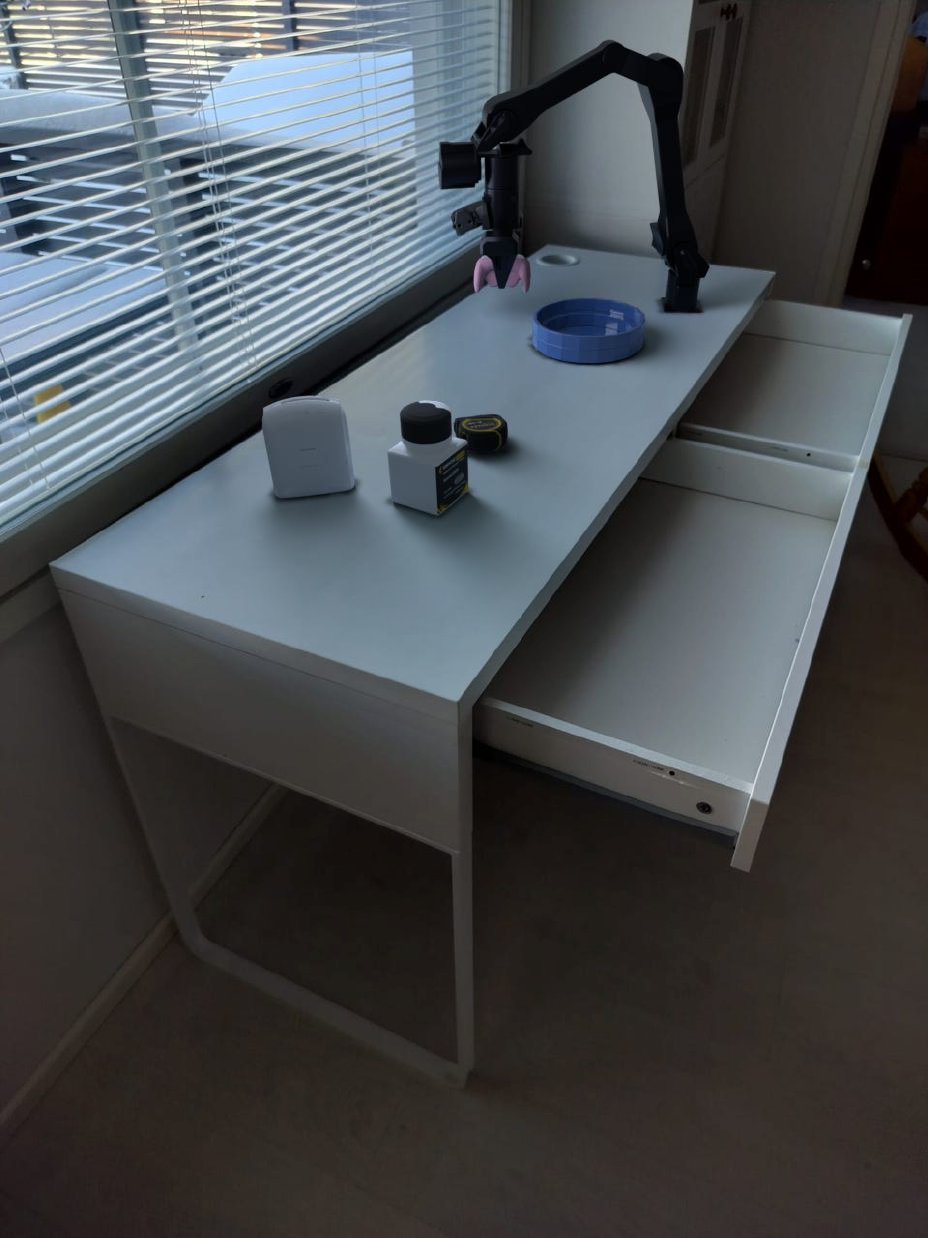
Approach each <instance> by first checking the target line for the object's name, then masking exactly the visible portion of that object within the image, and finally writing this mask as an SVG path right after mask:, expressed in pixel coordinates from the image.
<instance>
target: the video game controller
mask: <svg viewBox="0 0 928 1238" xmlns="http://www.w3.org/2000/svg"><path fill="white" fill-rule="evenodd" d="M531 274H532V273H531V264H530V261H529V260H528V258H526V257H525V256H524V255H522V254H519V253H518V255H517V257H516V260H515V262H514V265H513V267H512V270H511V273H510V275H509V278H508V281H507V283H506V287H508V288H515V287H516V286H517V285H518V284H519V282H520V281H521V288H522V291H523V293H525V294H527V293H528V292H529V290H530V287H531V277H532V275H531ZM484 280H485V281H486V282H487V284H488V286H489V287H491V288H498V285H497V281H496V277H495V272H494V268H493V264H492V261H491V259H490V258H488V257H487V256H483V255H481V257H479V259H477V261H476V263H475V267H474V272H473V287H474V288H473V289H474V292H475V293H477V294H478V293H480V292H481V291H482V289H483V285H484V282H485V281H484Z"/></svg>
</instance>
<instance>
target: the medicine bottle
mask: <svg viewBox="0 0 928 1238" xmlns="http://www.w3.org/2000/svg"><path fill="white" fill-rule="evenodd" d="M399 421H400V422H399V423H400V433H401V435H400V436H401V440H400V441H399V442H398V443H396V444H395V445H393V446H392V447H391V448H389V449H388V450H387V454H386V455H387V464H388V475H389V486H390V497H391V502H392V503H396V504H399V505H402V506H405V507H408V508H412V509H415V510H417V511H421V512H425V513H427V514H431V515H433V516H440V515H441V514H442V513H444V512H445V511H447V509H448V508H449V507H451V506H452V505H453V504H454V503H456V502H457V501H458V500H459V499H461V497H463V496H464V495H465V494H466V493H468V491H469V455H468V453H469V451H468V450H467V441H466V440H463V439H459V438H457V437H456V436H453V422H452V421H453V420H452V410H451V408H450V407H448V405H447V404H445V403H443V402H440V401H436V400H430V399H428V400H427V399H424V400H418V401H414V402H411V403H408V404H407V405H405V406H403V408H402V410H401V411H400V413H399Z"/></svg>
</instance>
